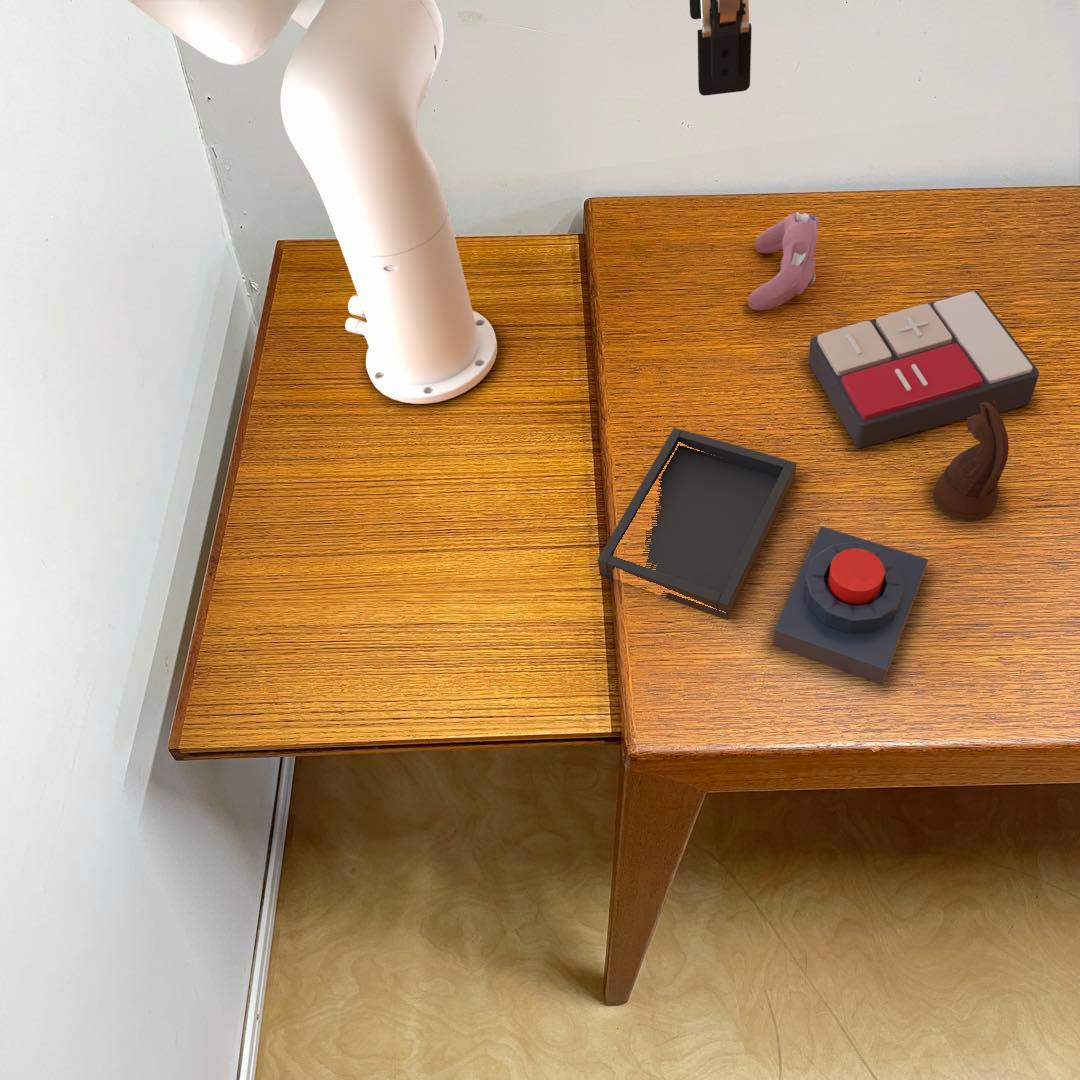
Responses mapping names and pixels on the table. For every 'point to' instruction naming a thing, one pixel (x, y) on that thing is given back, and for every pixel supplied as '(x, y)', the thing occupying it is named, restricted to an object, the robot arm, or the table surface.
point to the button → (856, 576)
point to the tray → (705, 519)
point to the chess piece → (975, 469)
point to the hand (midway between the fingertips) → (718, 51)
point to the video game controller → (787, 260)
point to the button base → (849, 609)
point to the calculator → (921, 368)
